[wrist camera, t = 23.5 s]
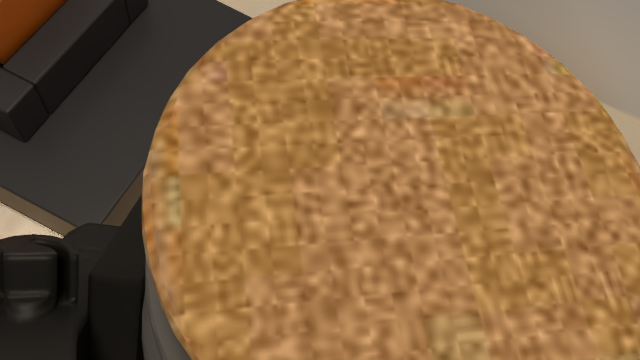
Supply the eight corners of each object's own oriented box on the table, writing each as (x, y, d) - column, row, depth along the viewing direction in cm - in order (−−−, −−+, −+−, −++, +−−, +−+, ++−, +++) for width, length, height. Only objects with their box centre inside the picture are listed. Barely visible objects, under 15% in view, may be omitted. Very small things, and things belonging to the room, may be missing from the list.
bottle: (155, 468, 17) (-85, 486, 4) (210, 278, 20) (189, -114, 6) (349, 510, 17) (788, 670, 4) (377, 317, 20) (694, 22, 7)
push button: (251, 54, 24) (256, -17, 20) (105, 258, 19) (79, 213, 16) (-36, -89, 25) (-79, -181, 21) (-239, 73, 20) (-337, -9, 17)
